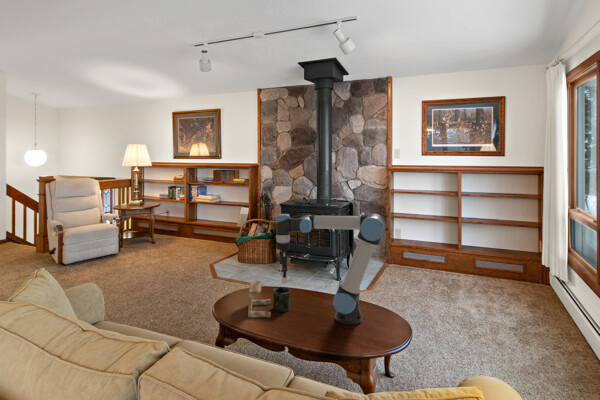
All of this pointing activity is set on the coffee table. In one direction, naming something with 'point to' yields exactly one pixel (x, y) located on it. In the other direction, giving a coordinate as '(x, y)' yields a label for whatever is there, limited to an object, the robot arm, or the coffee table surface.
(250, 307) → the wooden u-frame
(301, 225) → the robot arm
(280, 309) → the mug
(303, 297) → the coffee table surface
